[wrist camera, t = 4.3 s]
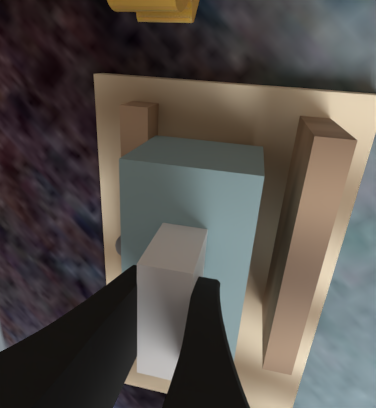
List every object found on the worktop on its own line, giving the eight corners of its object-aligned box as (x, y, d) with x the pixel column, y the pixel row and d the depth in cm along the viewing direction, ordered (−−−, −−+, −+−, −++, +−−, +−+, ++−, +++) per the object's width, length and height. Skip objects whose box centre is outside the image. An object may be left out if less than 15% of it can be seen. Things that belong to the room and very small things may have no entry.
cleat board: (286, 407, 21) (293, 498, 17) (117, 368, 23) (84, 440, 19) (378, 93, 13) (439, 110, 9) (103, 72, 15) (36, 77, 11)
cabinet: (238, 303, 16) (226, 437, 10) (138, 284, 17) (73, 398, 11) (263, 146, 13) (266, 210, 7) (138, 133, 14) (47, 180, 8)
